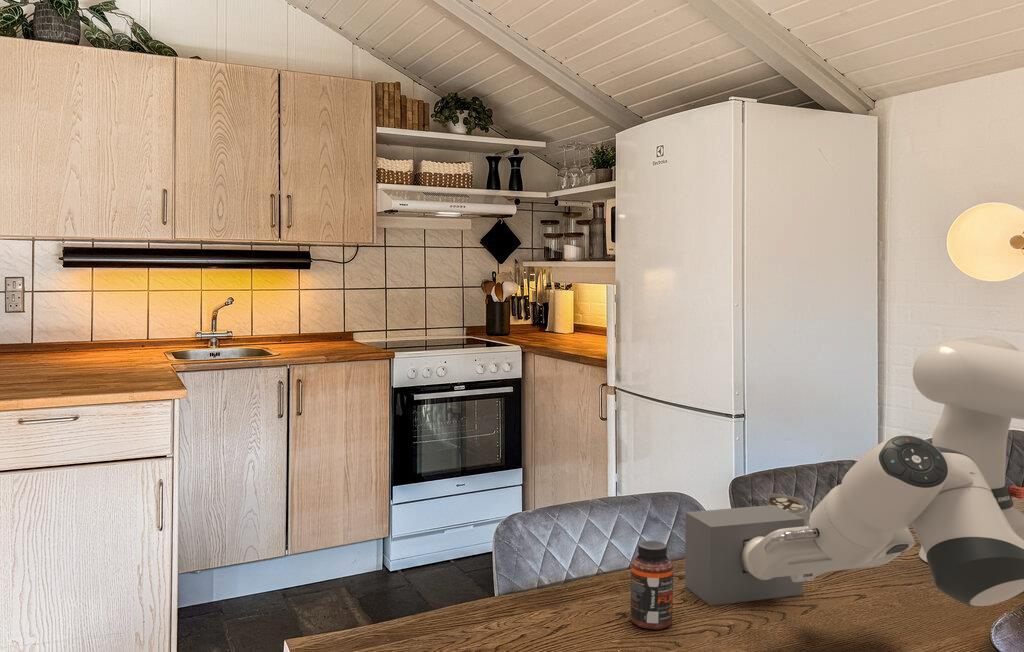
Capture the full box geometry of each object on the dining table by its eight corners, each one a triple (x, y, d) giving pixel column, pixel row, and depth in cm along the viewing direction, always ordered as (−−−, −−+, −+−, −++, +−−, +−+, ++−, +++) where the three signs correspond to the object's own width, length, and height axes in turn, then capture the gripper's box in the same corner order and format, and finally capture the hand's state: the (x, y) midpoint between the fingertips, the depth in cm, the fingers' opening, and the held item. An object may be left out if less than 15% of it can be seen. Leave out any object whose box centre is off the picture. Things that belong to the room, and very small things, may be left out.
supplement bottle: (663, 635, 108) (664, 554, 107) (623, 625, 111) (624, 546, 111) (678, 619, 113) (679, 542, 113) (640, 610, 116) (640, 535, 116)
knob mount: (772, 576, 130) (773, 504, 129) (802, 594, 122) (803, 518, 121) (685, 586, 126) (685, 512, 125) (710, 605, 118) (710, 527, 117)
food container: (814, 571, 132) (815, 513, 131) (776, 569, 133) (776, 511, 133) (802, 548, 144) (803, 494, 143) (767, 545, 145) (768, 492, 145)
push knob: (754, 560, 126) (754, 523, 126) (783, 577, 118) (784, 538, 118) (720, 563, 124) (721, 526, 124) (748, 581, 117) (749, 542, 116)
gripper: (786, 558, 95) (742, 606, 105) (926, 543, 100) (871, 590, 110) (766, 512, 99) (724, 562, 109) (901, 500, 104) (850, 549, 114)
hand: (799, 576), depth 109 cm, fingers closed
